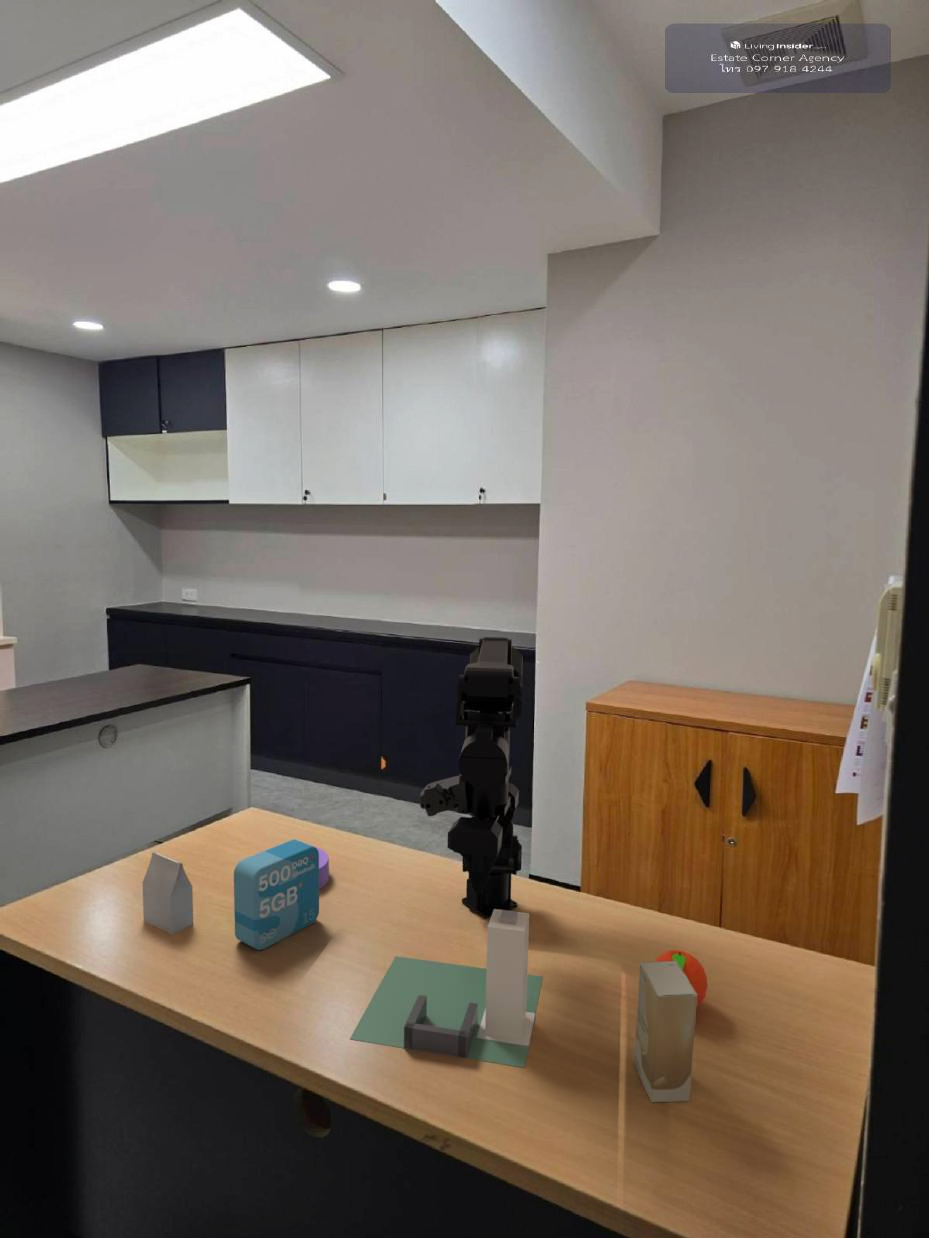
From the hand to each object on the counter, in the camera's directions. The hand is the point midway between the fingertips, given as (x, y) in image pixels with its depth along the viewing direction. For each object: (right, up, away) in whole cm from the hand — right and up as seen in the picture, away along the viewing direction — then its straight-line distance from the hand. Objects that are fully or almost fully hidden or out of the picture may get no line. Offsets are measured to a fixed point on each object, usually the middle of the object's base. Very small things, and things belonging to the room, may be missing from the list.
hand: (484, 876), depth 102 cm
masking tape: (-31, -10, +27) cm, 42 cm away
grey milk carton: (-47, -11, +12) cm, 49 cm away
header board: (-4, -14, -8) cm, 17 cm away
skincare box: (+19, -16, -19) cm, 31 cm away
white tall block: (+2, -13, -12) cm, 18 cm away
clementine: (+24, -15, -6) cm, 28 cm away
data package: (-30, -12, +10) cm, 34 cm away
